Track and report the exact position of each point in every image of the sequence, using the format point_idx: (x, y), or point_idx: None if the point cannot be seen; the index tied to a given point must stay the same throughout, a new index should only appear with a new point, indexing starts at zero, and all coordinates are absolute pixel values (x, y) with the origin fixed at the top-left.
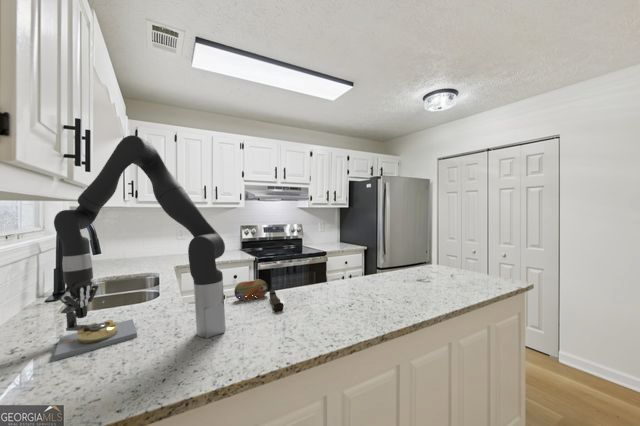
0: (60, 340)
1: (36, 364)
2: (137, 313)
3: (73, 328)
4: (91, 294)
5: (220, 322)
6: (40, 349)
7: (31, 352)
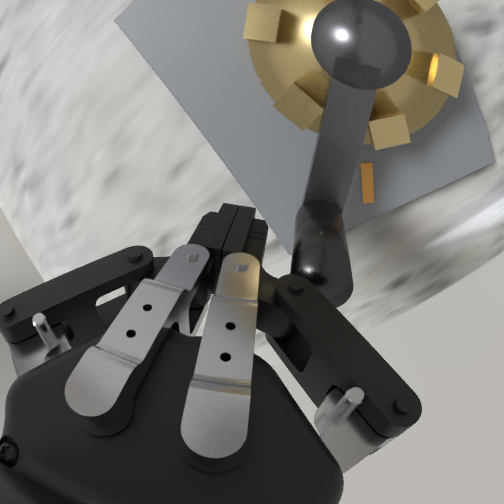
0: None
1: (482, 203)
2: (33, 99)
3: (346, 196)
4: (92, 293)
5: None
6: None
7: (365, 283)
